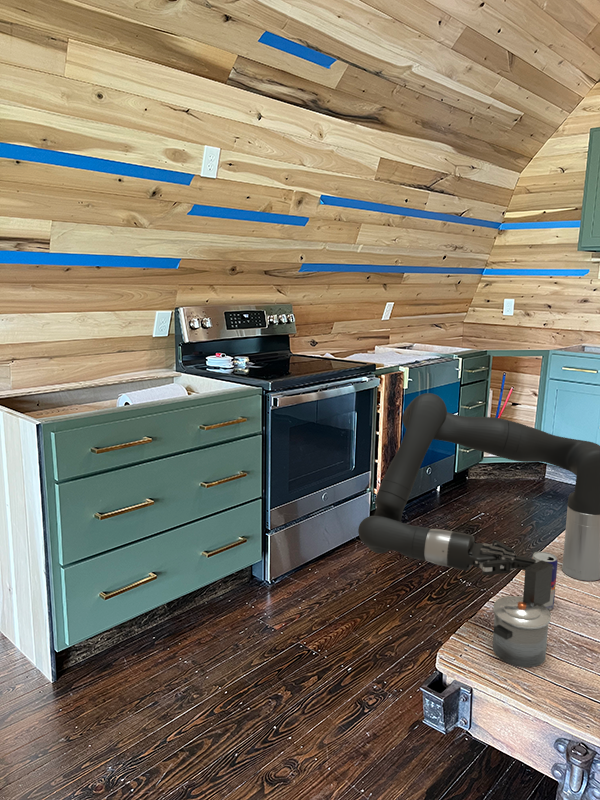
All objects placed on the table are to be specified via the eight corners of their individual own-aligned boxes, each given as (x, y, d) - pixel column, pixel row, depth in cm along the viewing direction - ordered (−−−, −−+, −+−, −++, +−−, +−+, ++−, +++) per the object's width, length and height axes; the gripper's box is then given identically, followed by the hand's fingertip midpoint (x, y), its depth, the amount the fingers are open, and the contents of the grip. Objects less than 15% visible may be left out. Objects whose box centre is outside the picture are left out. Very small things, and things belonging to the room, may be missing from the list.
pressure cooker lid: (521, 591, 127) (524, 552, 125) (568, 613, 119) (572, 572, 117) (481, 610, 120) (484, 569, 118) (528, 635, 112) (531, 592, 110)
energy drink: (552, 614, 134) (556, 564, 131) (526, 607, 136) (530, 558, 134) (555, 602, 138) (559, 554, 136) (530, 596, 141) (534, 549, 138)
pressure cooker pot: (519, 627, 129) (522, 593, 127) (563, 650, 121) (566, 614, 119) (477, 650, 121) (479, 614, 119) (520, 677, 113) (523, 638, 111)
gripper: (442, 544, 123) (532, 562, 116) (457, 521, 135) (540, 536, 127) (441, 578, 125) (530, 598, 117) (455, 552, 136) (537, 568, 129)
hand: (535, 565), depth 122 cm, fingers closed
